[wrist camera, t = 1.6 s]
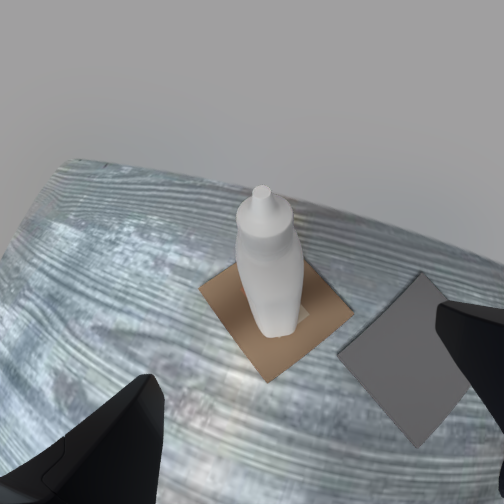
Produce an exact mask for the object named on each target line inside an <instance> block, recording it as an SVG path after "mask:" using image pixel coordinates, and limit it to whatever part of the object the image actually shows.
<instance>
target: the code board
mask: <svg viewBox="0 0 504 504" xmlns="http://www.w3.org/2000/svg"><path fill="white" fill-rule="evenodd" d="M198 289H199V291H200V292H201V293H202V295H203V296H204V298H205V299H206V301H207V302H208V304H209V305H210V307H211V308H212V309H213V311H214V312H215V314H216V315H217V316H218V318H219V319H220V321H221V322H222V324H223V325H224V326H225V328H226V329H227V331H228V332H229V333H230V335H231V336H232V337H233V339H234V340H235V342H236V343H237V344H238V346H239V347H240V348H241V350H242V351H243V352H244V354H245V355H246V356H247V358H248V359H249V360H250V362H251V363H252V364H253V366H254V367H255V368H256V370H257V371H258V372H259V373H260V375H261V376H262V377H263V379H264V380H265V381H266V382H267V383H269V382H270V381H272V380H273V379H274V378H276V377H277V376H278V375H280V374H281V373H283V372H284V371H285V370H287V369H288V368H289V367H291V366H292V365H293V364H295V363H296V362H297V361H298V360H300V359H301V358H302V357H304V356H305V355H306V354H307V353H309V352H310V351H311V350H312V349H314V348H315V347H316V346H317V345H319V344H320V343H321V342H322V341H324V340H325V339H326V338H327V337H328V336H330V335H331V334H332V333H333V332H334V331H335V330H337V329H338V328H339V327H340V326H341V325H342V324H344V323H345V322H346V321H347V320H348V319H349V318H350V317H352V316H353V315H354V313H353V312H352V311H351V309H350V308H349V307H348V306H347V305H346V304H345V303H344V302H343V301H342V300H341V298H340V297H339V296H338V295H337V294H336V293H335V292H334V291H333V290H332V289H331V288H330V286H329V285H328V284H327V283H326V282H325V281H324V280H323V279H322V278H321V277H320V276H319V275H318V274H317V272H316V271H315V270H314V269H313V268H312V267H311V266H310V265H309V264H308V263H307V262H306V261H305V260H304V276H303V286H302V294H301V302H300V309H299V315H298V321H297V326H296V329H295V331H294V332H293V333H292V334H290V335H286V336H280V337H274V338H268V337H266V336H264V335H263V334H262V332H261V331H260V329H259V328H258V326H257V324H256V321H255V319H254V316H253V314H252V311H251V308H250V305H249V302H248V299H247V296H246V293H245V290H244V288H243V285H242V281H241V278H240V275H239V271H238V267H237V262H236V263H235V264H233V265H232V266H230V267H229V268H227V269H226V270H224V271H223V272H221V273H220V274H218V275H217V276H215V277H214V278H213V279H211V280H210V281H208V282H207V283H205V284H204V285H202V286H201V287H199V288H198Z"/></svg>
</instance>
